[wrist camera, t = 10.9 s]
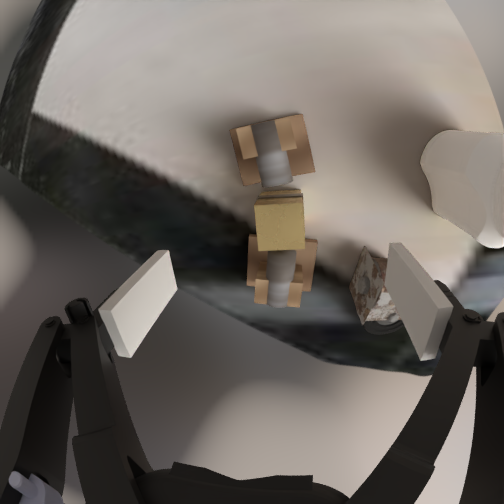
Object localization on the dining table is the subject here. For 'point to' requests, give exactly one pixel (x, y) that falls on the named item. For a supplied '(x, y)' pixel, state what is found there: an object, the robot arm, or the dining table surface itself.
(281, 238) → the block
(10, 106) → the dining table surface
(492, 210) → the jar
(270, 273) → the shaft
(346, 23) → the dining table surface
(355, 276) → the caster wheel
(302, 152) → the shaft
